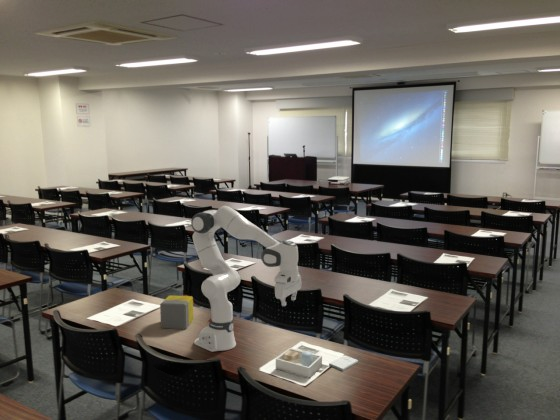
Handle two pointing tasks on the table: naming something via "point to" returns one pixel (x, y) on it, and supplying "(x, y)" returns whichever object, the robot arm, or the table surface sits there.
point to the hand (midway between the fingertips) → (288, 302)
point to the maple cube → (291, 356)
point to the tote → (299, 364)
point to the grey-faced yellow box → (176, 312)
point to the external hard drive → (343, 362)
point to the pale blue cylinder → (306, 358)
